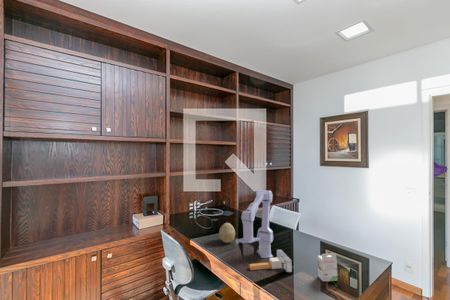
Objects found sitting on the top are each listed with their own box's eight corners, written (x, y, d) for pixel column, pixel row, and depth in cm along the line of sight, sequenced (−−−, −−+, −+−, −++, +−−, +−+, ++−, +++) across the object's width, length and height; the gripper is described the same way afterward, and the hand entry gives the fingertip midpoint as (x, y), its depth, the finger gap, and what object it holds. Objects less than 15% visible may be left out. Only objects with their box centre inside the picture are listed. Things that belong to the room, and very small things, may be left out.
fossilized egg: (225, 247, 156) (224, 226, 156) (216, 241, 167) (216, 222, 167) (238, 242, 163) (238, 223, 163) (229, 237, 174) (229, 219, 174)
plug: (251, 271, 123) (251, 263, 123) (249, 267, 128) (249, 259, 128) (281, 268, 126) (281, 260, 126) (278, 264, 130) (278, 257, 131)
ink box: (332, 275, 117) (332, 249, 118) (337, 281, 112) (337, 253, 113) (317, 276, 117) (317, 249, 117) (322, 281, 112) (321, 253, 112)
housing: (277, 260, 136) (276, 249, 136) (281, 259, 136) (281, 249, 136) (286, 272, 121) (286, 260, 122) (291, 271, 122) (291, 260, 122)
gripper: (237, 235, 118) (238, 259, 118) (262, 233, 121) (262, 257, 120) (235, 230, 125) (235, 253, 125) (258, 229, 128) (258, 251, 127)
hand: (248, 255), depth 123 cm, fingers open, 7 cm apart
